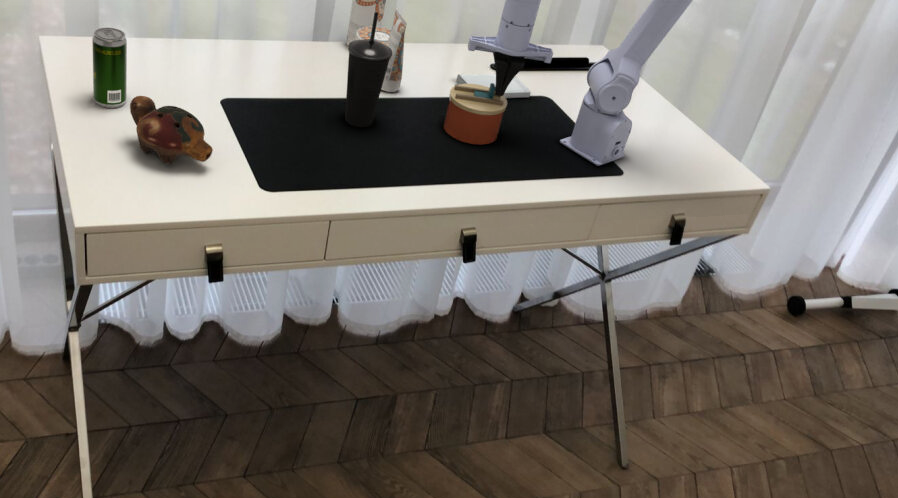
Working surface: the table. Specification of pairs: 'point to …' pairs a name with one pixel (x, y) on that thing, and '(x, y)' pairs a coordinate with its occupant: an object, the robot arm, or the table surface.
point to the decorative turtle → (168, 131)
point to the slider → (486, 95)
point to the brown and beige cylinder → (474, 114)
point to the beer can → (109, 67)
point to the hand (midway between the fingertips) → (498, 93)
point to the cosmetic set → (380, 36)
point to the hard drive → (513, 90)
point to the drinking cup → (365, 78)
